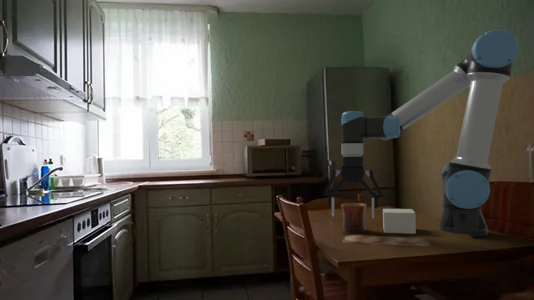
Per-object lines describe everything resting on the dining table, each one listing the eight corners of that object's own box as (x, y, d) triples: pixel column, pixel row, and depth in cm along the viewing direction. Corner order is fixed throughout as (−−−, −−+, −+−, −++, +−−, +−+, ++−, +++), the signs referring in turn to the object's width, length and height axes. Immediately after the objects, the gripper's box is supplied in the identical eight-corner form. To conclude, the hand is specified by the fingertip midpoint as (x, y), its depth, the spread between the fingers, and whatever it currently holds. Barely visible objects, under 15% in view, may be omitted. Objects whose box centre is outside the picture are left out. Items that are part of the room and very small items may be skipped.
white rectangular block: (412, 231, 132) (412, 209, 132) (416, 237, 123) (415, 212, 123) (383, 230, 134) (382, 208, 134) (384, 236, 125) (383, 212, 126)
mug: (341, 231, 135) (341, 203, 136) (366, 231, 134) (365, 203, 134) (341, 238, 124) (340, 207, 124) (368, 238, 122) (367, 207, 122)
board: (425, 241, 116) (425, 236, 116) (431, 250, 105) (431, 245, 105) (344, 238, 123) (344, 234, 123) (342, 246, 112) (342, 241, 112)
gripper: (389, 155, 130) (389, 216, 129) (318, 156, 136) (318, 213, 136) (390, 155, 122) (391, 220, 122) (315, 156, 129) (315, 217, 129)
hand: (352, 217), depth 129 cm, fingers open, 13 cm apart
